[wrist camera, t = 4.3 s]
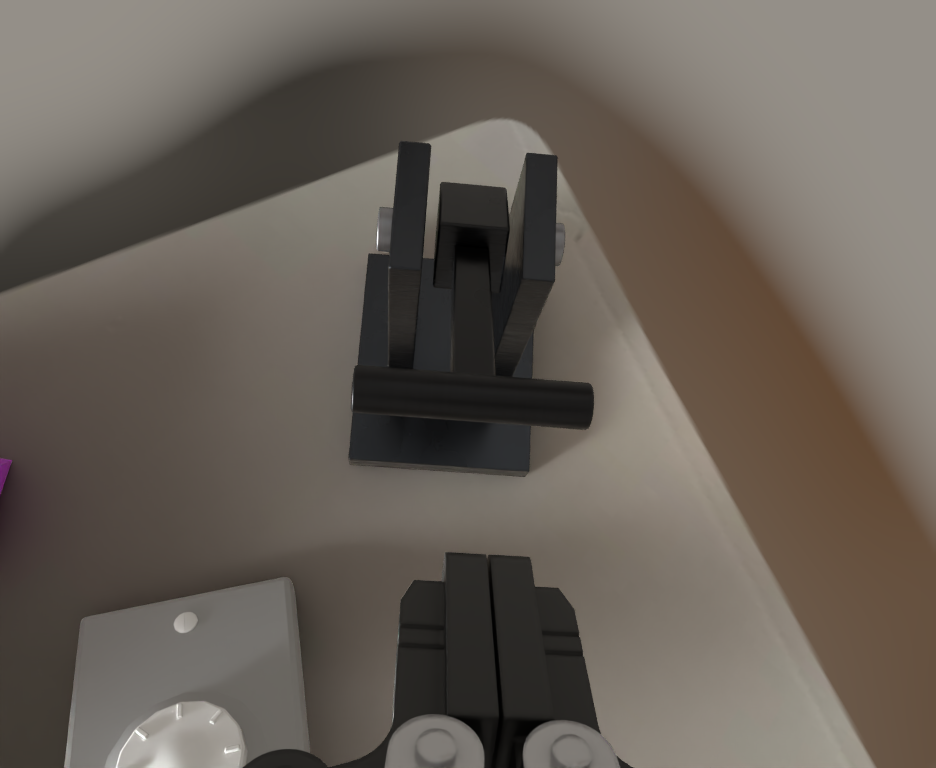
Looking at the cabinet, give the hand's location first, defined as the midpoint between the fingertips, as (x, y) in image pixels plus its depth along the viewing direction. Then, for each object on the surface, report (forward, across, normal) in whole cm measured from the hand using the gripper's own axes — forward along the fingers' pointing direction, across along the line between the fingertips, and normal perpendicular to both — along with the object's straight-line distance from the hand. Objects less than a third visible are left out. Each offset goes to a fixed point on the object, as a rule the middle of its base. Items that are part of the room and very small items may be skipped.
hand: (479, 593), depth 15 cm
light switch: (+12, +8, +20) cm, 25 cm away
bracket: (+24, 0, +7) cm, 25 cm away
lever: (+12, 0, 0) cm, 12 cm away
